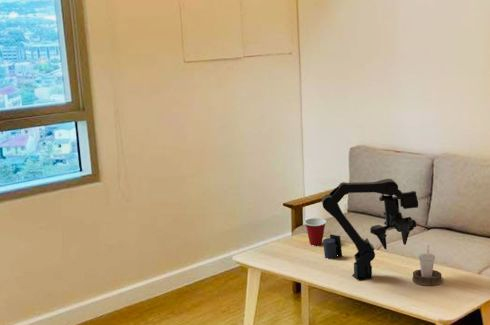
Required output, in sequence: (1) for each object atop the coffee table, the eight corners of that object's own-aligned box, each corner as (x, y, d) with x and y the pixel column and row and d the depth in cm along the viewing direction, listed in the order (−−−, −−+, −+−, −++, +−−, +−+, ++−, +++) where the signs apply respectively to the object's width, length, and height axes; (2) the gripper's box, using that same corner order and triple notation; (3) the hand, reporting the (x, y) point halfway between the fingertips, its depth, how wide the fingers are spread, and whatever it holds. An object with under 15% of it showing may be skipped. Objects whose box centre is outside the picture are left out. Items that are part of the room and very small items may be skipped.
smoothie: (435, 281, 251) (435, 248, 249) (418, 281, 253) (419, 247, 251) (434, 276, 258) (434, 243, 255) (418, 275, 259) (418, 243, 257)
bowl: (422, 287, 248) (422, 280, 248) (406, 278, 259) (406, 271, 259) (448, 283, 251) (448, 276, 251) (431, 274, 262) (431, 267, 262)
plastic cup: (303, 247, 307) (303, 223, 305) (305, 241, 317) (304, 217, 315) (326, 247, 305) (325, 223, 303) (327, 241, 315) (326, 217, 313)
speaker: (334, 253, 295) (333, 232, 292) (342, 256, 290) (341, 235, 287) (321, 257, 291) (320, 236, 289) (329, 261, 287) (327, 240, 284)
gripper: (382, 218, 246) (386, 256, 249) (423, 209, 252) (426, 246, 255) (368, 213, 257) (371, 249, 259) (407, 204, 263) (410, 240, 265)
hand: (395, 246), depth 259 cm, fingers open, 9 cm apart
